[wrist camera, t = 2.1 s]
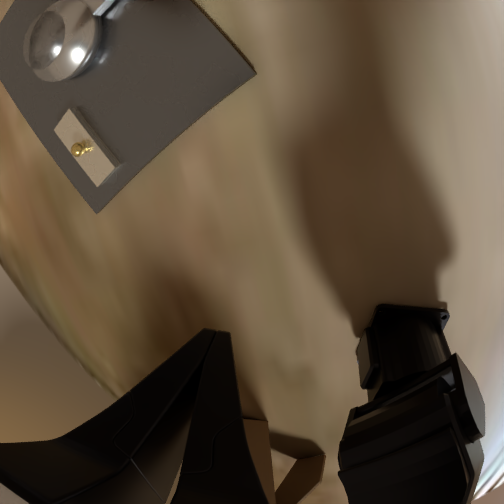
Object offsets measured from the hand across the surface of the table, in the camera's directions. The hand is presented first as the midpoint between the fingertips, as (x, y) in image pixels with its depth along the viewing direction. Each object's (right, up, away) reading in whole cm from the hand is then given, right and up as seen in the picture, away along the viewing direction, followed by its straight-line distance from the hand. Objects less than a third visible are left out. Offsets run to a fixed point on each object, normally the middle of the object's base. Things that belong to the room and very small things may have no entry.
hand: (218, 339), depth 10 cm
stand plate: (-11, +17, +6) cm, 22 cm away
